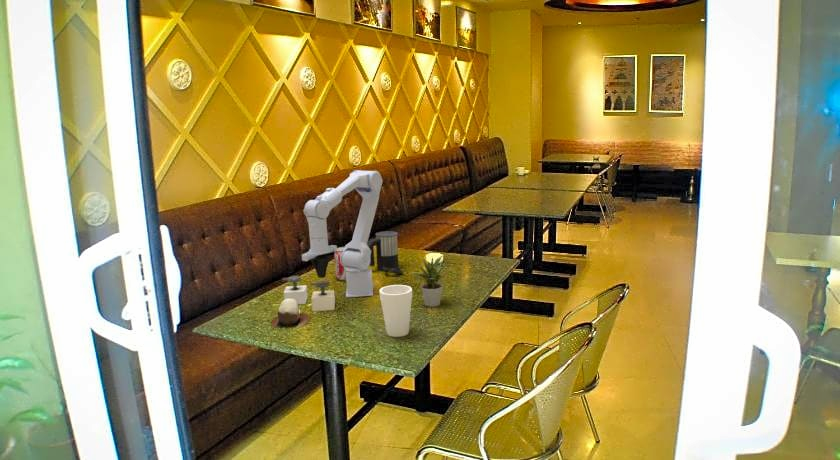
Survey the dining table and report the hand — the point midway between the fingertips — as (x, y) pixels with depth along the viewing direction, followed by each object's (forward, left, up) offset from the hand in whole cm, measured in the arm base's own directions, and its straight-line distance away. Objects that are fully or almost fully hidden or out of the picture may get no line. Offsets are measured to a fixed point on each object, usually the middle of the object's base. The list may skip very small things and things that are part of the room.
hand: (321, 277), depth 187 cm
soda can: (-6, -32, -11) cm, 34 cm away
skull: (+10, +11, -11) cm, 18 cm away
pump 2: (+1, 0, -6) cm, 6 cm away
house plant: (-36, +3, -11) cm, 38 cm away
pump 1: (+11, -8, -6) cm, 15 cm away
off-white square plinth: (0, 0, -10) cm, 10 cm away
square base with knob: (+10, -8, -10) cm, 16 cm away
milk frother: (-24, -39, -11) cm, 47 cm away
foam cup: (-23, +27, -11) cm, 37 cm away
